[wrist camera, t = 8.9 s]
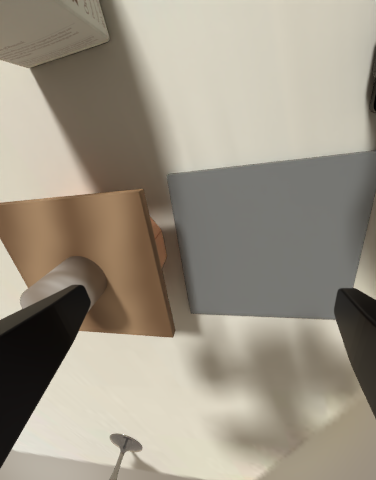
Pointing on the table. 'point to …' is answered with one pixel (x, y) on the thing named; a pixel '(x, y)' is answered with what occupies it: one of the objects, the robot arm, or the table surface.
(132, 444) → the wine glass
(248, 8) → the table surface
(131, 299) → the lid
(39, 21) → the supplement box
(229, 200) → the mat
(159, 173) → the table surface
